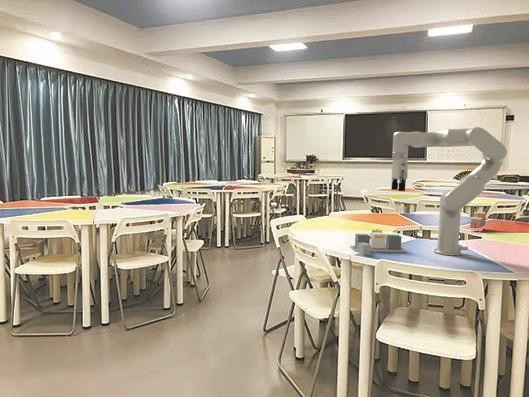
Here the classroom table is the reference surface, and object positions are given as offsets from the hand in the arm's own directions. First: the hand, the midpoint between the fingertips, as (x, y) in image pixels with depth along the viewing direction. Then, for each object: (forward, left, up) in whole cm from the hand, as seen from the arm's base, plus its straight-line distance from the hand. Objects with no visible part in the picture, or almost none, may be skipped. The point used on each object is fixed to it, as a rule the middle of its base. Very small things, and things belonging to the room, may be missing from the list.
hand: (398, 190), depth 218 cm
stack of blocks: (-85, -71, -31) cm, 115 cm away
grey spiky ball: (+5, -14, -31) cm, 34 cm away
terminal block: (+20, +13, -30) cm, 39 cm away
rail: (+10, +3, -30) cm, 32 cm away
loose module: (+10, +3, -29) cm, 31 cm away
